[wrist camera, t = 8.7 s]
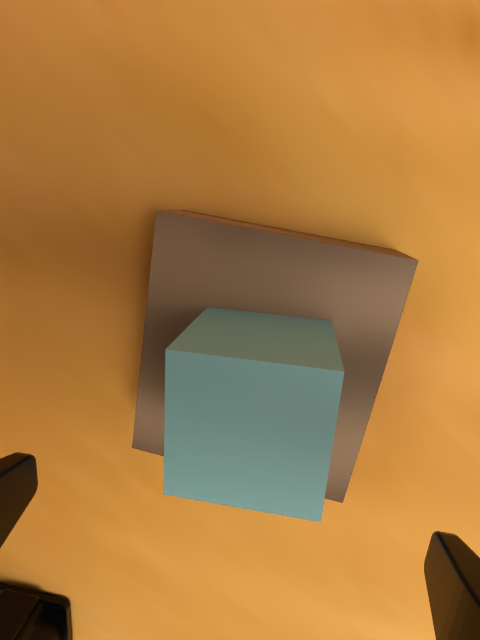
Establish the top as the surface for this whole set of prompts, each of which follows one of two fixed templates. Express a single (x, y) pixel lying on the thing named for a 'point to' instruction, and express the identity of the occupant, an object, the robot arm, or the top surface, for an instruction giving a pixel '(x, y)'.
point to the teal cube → (252, 411)
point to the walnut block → (273, 309)
